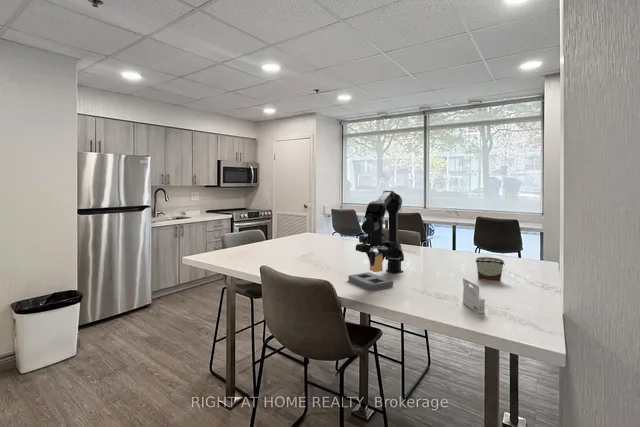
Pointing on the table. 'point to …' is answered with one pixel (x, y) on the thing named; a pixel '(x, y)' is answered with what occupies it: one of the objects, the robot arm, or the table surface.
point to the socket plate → (370, 281)
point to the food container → (489, 268)
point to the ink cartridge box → (473, 297)
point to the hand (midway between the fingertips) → (376, 265)
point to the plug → (377, 262)
